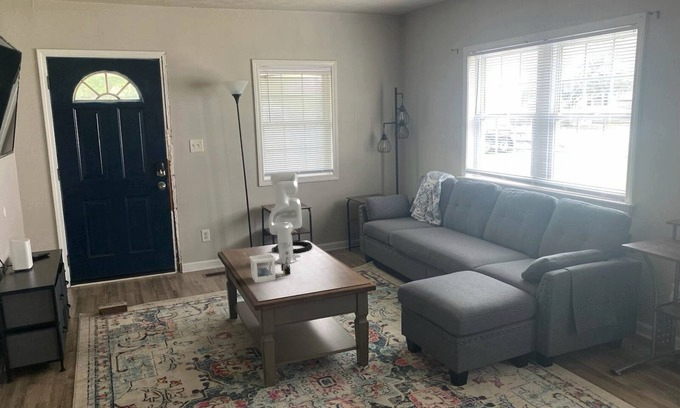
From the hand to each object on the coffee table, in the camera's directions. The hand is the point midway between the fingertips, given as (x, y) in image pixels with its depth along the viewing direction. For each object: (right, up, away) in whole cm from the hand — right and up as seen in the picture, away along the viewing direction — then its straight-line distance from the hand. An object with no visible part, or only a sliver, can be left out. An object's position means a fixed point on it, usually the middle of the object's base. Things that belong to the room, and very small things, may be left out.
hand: (285, 272), depth 319 cm
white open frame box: (-13, -3, -4) cm, 14 cm away
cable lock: (-2, +8, +63) cm, 63 cm away
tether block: (-7, -2, -2) cm, 8 cm away
